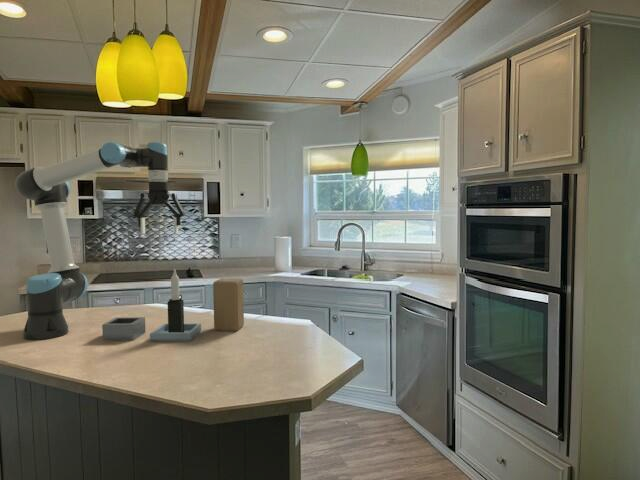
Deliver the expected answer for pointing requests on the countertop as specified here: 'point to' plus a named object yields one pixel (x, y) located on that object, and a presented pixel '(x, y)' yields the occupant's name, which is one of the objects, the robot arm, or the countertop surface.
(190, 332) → the tray
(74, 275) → the robot arm
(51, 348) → the countertop surface
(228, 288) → the wooden block
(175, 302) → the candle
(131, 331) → the collar
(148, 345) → the countertop surface
